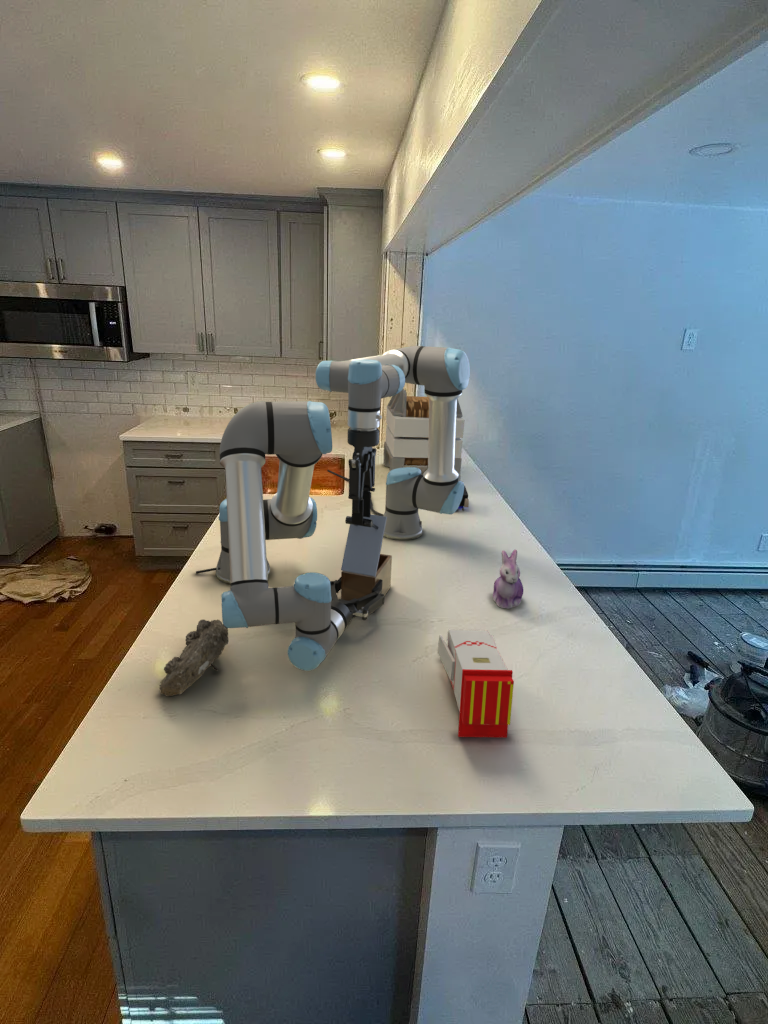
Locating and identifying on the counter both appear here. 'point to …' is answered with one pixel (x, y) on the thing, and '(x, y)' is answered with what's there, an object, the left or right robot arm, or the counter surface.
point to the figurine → (508, 583)
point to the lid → (364, 545)
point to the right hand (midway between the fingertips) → (361, 519)
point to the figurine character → (464, 500)
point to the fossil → (195, 657)
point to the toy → (478, 682)
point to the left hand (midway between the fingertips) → (362, 580)
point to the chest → (366, 580)
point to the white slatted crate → (413, 432)
